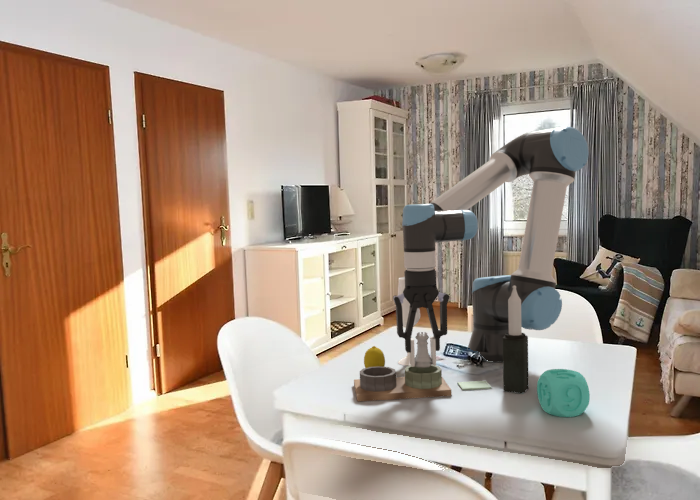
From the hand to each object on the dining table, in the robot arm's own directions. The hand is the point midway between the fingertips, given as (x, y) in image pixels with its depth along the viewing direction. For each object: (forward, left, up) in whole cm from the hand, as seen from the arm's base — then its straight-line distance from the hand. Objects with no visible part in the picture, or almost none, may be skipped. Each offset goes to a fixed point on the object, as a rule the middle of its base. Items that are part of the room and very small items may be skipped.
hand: (423, 364), depth 144 cm
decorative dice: (-26, +19, -6) cm, 33 cm away
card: (-12, 0, -6) cm, 14 cm away
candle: (-21, +4, -6) cm, 23 cm away
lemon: (+11, -13, -6) cm, 18 cm away
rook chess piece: (0, 0, -1) cm, 1 cm away
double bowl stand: (+6, 0, -6) cm, 8 cm away
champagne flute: (0, -24, -6) cm, 25 cm away
